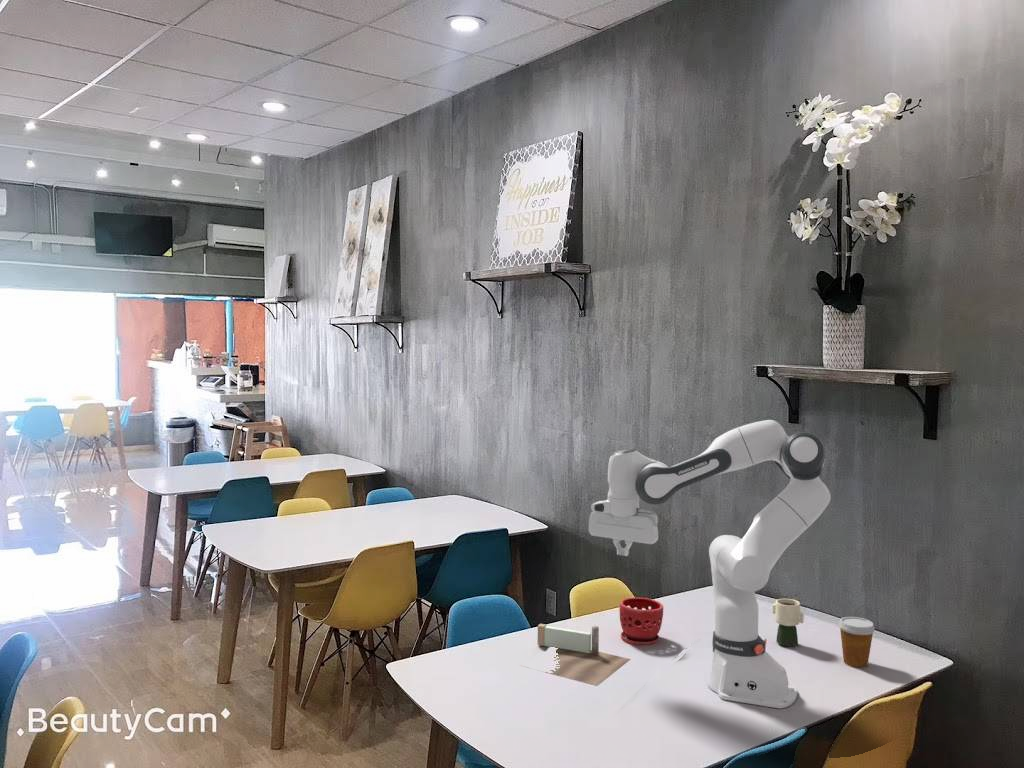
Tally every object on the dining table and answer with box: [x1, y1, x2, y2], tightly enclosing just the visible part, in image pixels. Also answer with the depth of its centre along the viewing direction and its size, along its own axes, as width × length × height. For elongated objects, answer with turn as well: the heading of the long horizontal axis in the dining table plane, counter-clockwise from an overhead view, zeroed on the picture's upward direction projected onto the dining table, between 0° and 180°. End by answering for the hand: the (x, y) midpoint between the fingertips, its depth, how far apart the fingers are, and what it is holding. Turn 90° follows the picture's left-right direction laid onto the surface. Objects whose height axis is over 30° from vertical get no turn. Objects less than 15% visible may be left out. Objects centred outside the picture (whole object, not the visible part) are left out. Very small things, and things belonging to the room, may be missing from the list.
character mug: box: [772, 598, 805, 647], centre depth 242 cm, size 11×7×13 cm, turn 34°
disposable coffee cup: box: [838, 616, 876, 669], centre depth 228 cm, size 10×10×12 cm
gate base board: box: [545, 625, 631, 687], centre depth 226 cm, size 24×21×9 cm
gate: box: [537, 623, 592, 653], centre depth 235 cm, size 2×16×6 cm, turn 66°
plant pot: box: [619, 597, 664, 647], centre depth 244 cm, size 13×13×12 cm
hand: (622, 555), depth 227 cm, fingers closed
